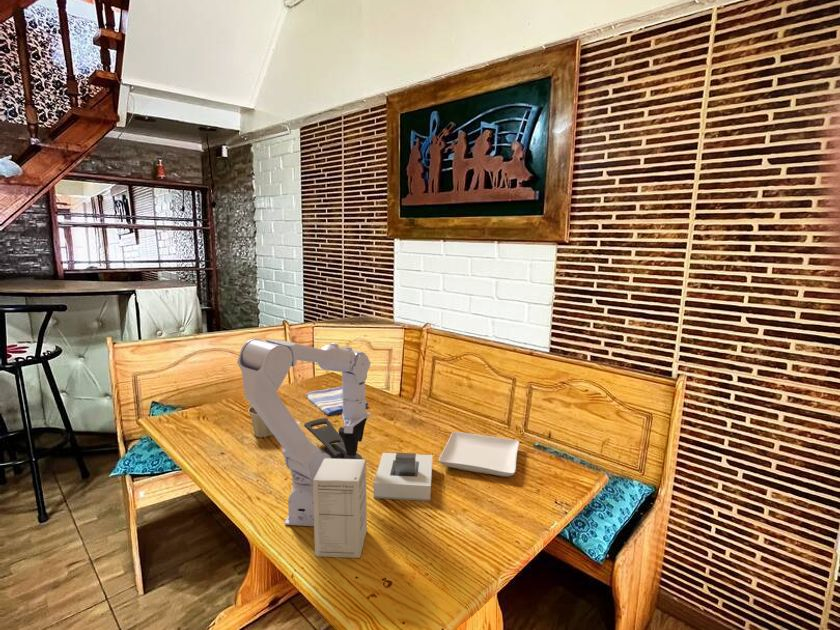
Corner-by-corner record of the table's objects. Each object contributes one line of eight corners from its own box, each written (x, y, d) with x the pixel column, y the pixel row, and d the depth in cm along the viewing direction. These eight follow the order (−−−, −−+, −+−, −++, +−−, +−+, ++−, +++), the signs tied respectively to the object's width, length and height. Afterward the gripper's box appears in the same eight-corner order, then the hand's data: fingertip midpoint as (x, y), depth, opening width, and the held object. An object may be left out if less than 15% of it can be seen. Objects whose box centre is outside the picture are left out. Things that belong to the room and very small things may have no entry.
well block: (430, 501, 110) (430, 486, 109) (373, 498, 111) (373, 483, 110) (432, 468, 126) (432, 455, 125) (382, 466, 127) (382, 452, 126)
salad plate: (519, 449, 139) (519, 439, 139) (514, 484, 119) (515, 472, 119) (452, 440, 145) (452, 430, 144) (437, 472, 125) (437, 460, 124)
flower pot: (280, 437, 143) (280, 412, 142) (249, 442, 140) (248, 415, 138) (278, 426, 152) (277, 402, 150) (248, 430, 148) (247, 405, 147)
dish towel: (344, 390, 190) (344, 384, 189) (370, 408, 171) (370, 401, 170) (304, 398, 180) (304, 391, 180) (327, 417, 161) (326, 410, 161)
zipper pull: (327, 416, 144) (367, 445, 125) (327, 435, 145) (367, 467, 126) (301, 422, 139) (338, 454, 119) (301, 442, 140) (338, 477, 120)
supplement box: (367, 529, 99) (368, 458, 96) (360, 559, 90) (360, 481, 87) (324, 527, 99) (323, 456, 96) (313, 557, 90) (311, 479, 87)
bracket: (414, 487, 115) (415, 458, 114) (395, 486, 116) (395, 457, 114) (416, 475, 121) (416, 447, 120) (397, 474, 121) (398, 446, 120)
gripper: (364, 408, 105) (365, 462, 107) (374, 387, 119) (374, 435, 122) (334, 407, 105) (336, 461, 108) (348, 387, 120) (349, 434, 122)
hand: (354, 447), depth 115 cm, fingers open, 7 cm apart
